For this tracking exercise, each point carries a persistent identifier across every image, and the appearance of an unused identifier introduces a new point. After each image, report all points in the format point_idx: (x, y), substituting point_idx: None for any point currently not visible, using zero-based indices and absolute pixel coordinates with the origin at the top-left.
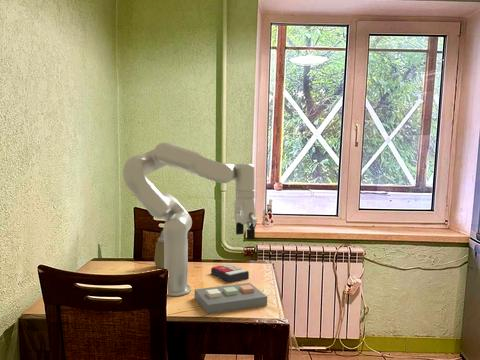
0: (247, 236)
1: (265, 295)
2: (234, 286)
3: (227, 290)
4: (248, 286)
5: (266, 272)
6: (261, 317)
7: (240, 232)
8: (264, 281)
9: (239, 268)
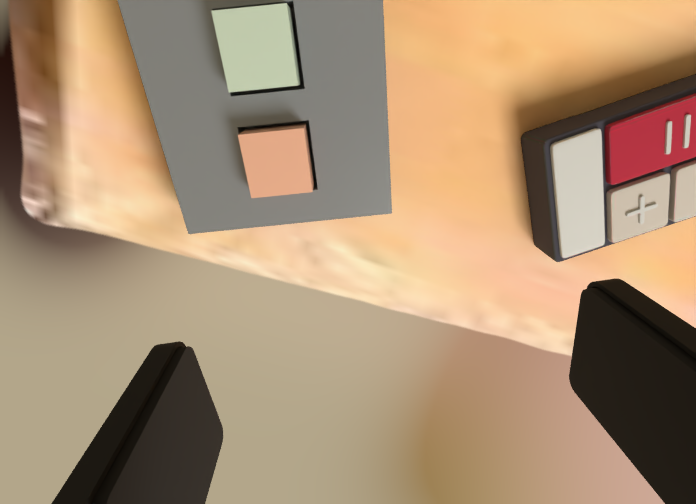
0: (132, 381)
1: (203, 230)
2: (357, 111)
3: (236, 19)
4: (284, 176)
5: (569, 340)
6: (68, 148)
7: (594, 358)
8: (472, 298)
9: (617, 230)
